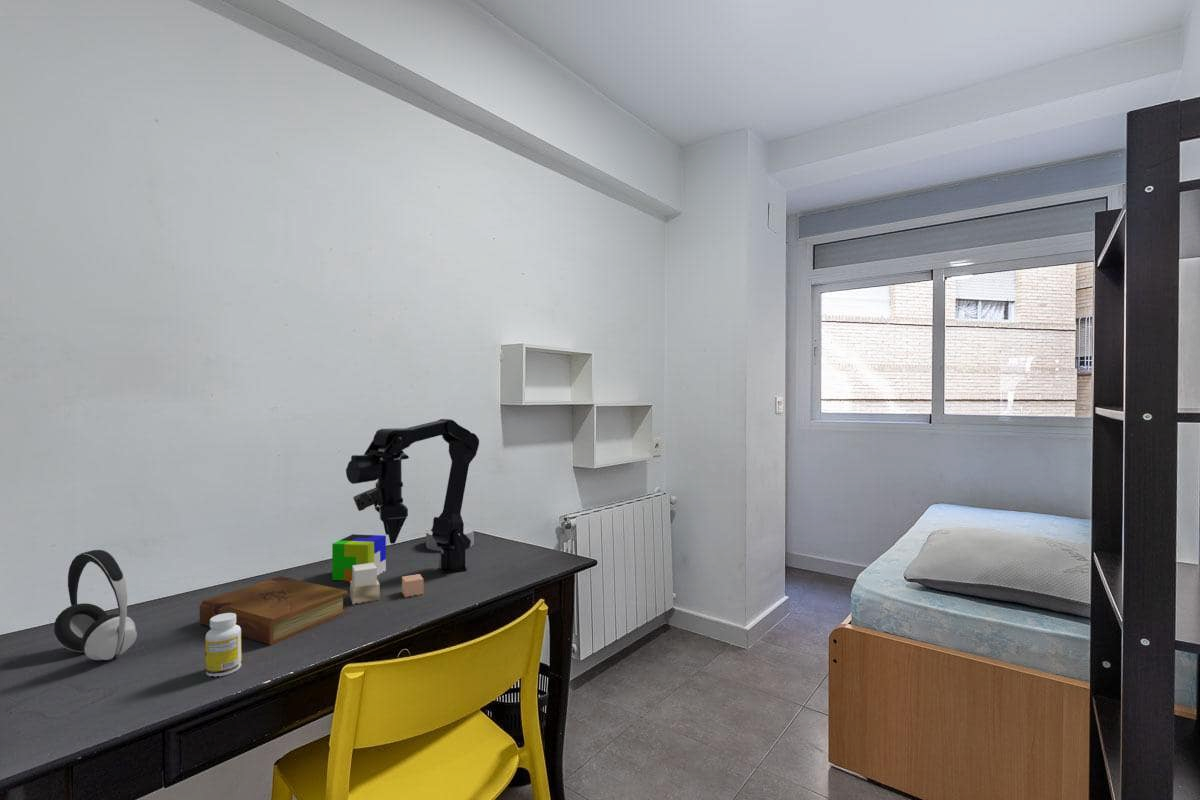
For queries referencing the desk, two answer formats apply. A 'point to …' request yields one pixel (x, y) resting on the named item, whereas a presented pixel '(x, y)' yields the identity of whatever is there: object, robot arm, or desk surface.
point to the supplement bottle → (223, 645)
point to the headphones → (96, 613)
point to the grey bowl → (432, 545)
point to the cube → (412, 585)
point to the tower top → (364, 574)
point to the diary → (276, 608)
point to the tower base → (364, 593)
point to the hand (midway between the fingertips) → (390, 538)
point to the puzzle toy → (357, 554)
